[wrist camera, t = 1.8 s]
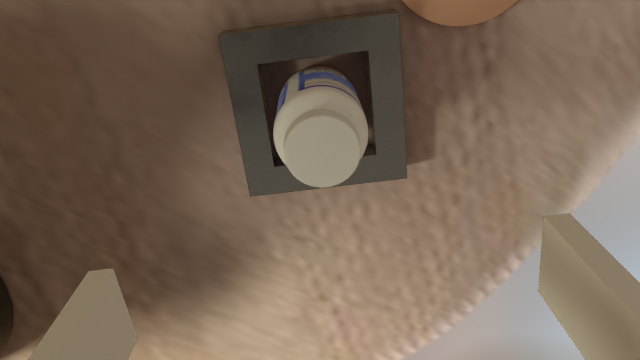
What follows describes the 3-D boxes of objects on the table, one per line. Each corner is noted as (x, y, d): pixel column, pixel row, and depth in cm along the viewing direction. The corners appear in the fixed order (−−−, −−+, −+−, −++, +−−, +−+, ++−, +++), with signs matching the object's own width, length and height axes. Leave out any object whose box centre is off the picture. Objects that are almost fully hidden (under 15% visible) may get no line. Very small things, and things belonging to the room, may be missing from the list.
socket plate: (253, 184, 37) (250, 196, 35) (223, 30, 32) (218, 35, 30) (402, 166, 36) (407, 178, 35) (393, 9, 32) (399, 12, 30)
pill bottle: (313, 154, 36) (315, 221, 27) (262, 98, 34) (246, 149, 25) (373, 107, 34) (396, 160, 26) (323, 46, 33) (330, 80, 24)
